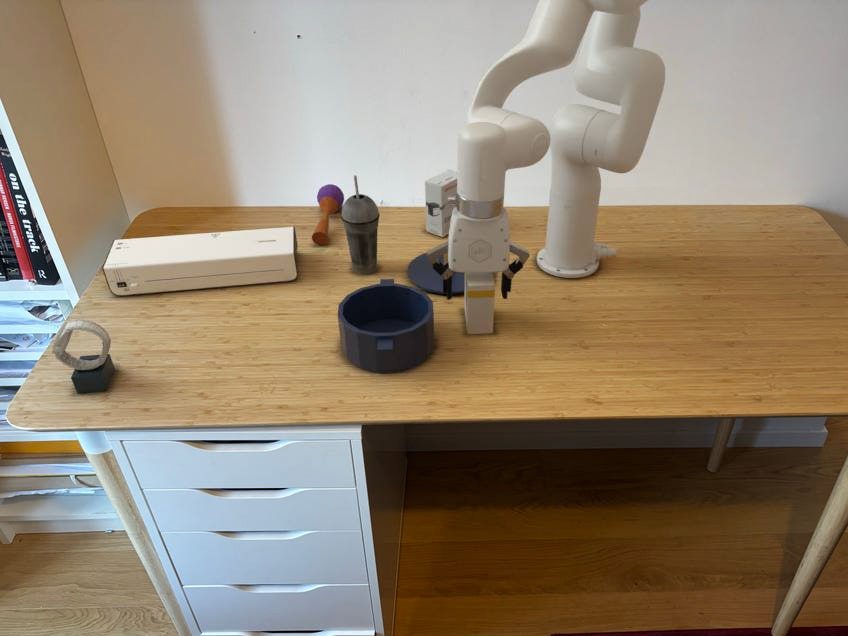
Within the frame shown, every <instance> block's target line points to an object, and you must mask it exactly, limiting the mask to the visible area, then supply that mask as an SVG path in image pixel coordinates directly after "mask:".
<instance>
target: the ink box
mask: <svg viewBox="0 0 848 636" xmlns="http://www.w3.org/2000/svg"><path fill="white" fill-rule="evenodd" d="M424 190H425V197H424V198H425V224H426V225H425V226H426V227H425V229H426V232H428V233H430V234H433V235H436V236H438V237H440V238H445V237H446V236H449V228H450V222H451V216H452V212H453V209H454V208H455V206H453V205H448V196H455V194H457V171H455V170H453V169H447V170H445V171H442V172H441V173H438V174H436V175H434V176H433V177H431V178H428V179H427V180H425V181H424Z"/></svg>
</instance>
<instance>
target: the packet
mask: <svg viewBox="0 0 848 636" xmlns="http://www.w3.org/2000/svg"><path fill="white" fill-rule="evenodd" d="M495 288H496V284H495V279H494V272H480V273H465V293H464V317H465V325H466V332H467V335H477V334H478V335H482V334H494V318H495V316H494V315H495V294H496V293H495V292H496V291H495V290H496V289H495Z"/></svg>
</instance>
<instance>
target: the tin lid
mask: <svg viewBox="0 0 848 636" xmlns="http://www.w3.org/2000/svg"><path fill="white" fill-rule="evenodd" d="M426 253H427V252H424V253H422V254H419V255H418V256H416V257H415V258H413V259H412V260H411V261H410V263H409V264H408V266H407V269H406V270H407V271H406V273H407V277H408V279H409V281H410V282H411V283H412V285H413V284H414V285H415V286H416V287H418V288H420V289H422V290H424V291H427V292H430V293H434V294H441V295H447V293H443V278H442V276H441V275H440V274H438V273H437V272H436V271H435V270H434V269H433V267H432V265H431V264H430V262H429V260H428V259H427V255H426ZM437 259H438V260H439V261H440V262H441V263H442V264H443V265H444V264H445V263H446V262H447V261H448V252H447V253H445V254H443V255H441V256H439V257H437ZM451 277H452V295H456V294H465V273H460V272H454V273H453V274H452V275H451Z"/></svg>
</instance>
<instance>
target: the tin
mask: <svg viewBox="0 0 848 636" xmlns="http://www.w3.org/2000/svg"><path fill="white" fill-rule="evenodd" d="M379 282H380V283H376V284H372V285H368V286H363V287H360V288H358V289H356V290H354V291H352V292H350V293H348V294H347V295H345V296H344V298H343V299H342V300H341V301H340V302H339V304H338V309H337V323H338V330H339V331H338V332H339V338H340V347H341V351H342V353H343V355H344V357H345V359H346V360H347V361H348V362H349V363H350V364H351V365H353V366H355V367H356V368H358V369H360V370H363V371H367V372H372V373H378V374H391V373H399V372H404V371H407V370H411V369H413V368H415V367H417V366H419V365H421V364H422V363H424V362H425V361H426V360H427V359H428V358H429V357H430V356H431V354H432V353H433V350H434V347H435V321H434V320H435V316H434V312H435V311H434V301H433V300H432V299H431V298H430V296H428V294H427V293H426V292H425V291H422V290H421V289H419V288H416V287H414V286H412V285H406V284H402V283H395V279H394V278H380V279H379Z"/></svg>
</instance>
